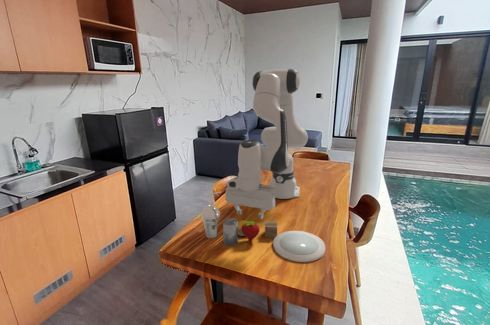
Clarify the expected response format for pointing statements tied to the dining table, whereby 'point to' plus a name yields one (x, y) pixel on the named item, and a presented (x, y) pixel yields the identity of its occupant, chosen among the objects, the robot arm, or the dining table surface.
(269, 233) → the walnut block
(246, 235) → the strawberry
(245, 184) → the robot arm
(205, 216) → the cup with straw
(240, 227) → the bread roll
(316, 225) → the dining table surface
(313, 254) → the plate
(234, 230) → the drinking glass
